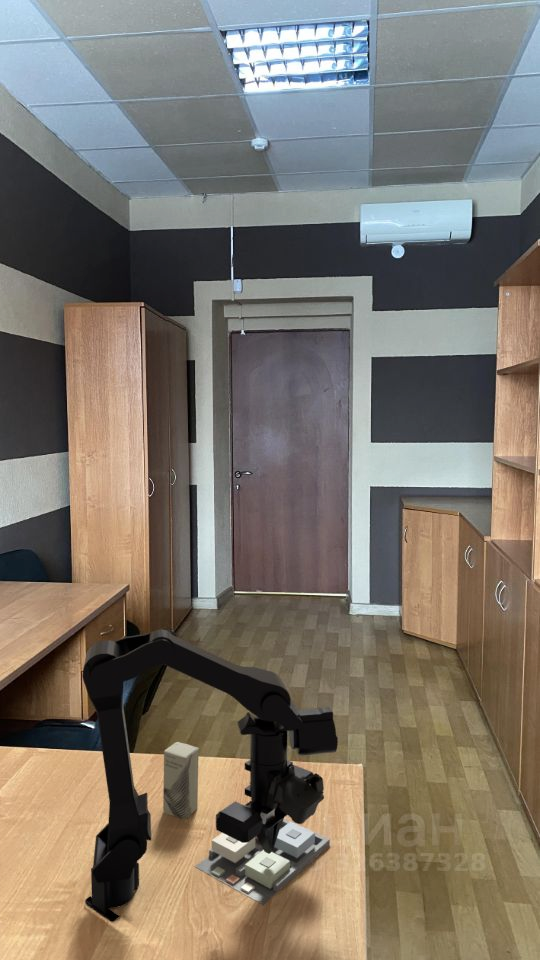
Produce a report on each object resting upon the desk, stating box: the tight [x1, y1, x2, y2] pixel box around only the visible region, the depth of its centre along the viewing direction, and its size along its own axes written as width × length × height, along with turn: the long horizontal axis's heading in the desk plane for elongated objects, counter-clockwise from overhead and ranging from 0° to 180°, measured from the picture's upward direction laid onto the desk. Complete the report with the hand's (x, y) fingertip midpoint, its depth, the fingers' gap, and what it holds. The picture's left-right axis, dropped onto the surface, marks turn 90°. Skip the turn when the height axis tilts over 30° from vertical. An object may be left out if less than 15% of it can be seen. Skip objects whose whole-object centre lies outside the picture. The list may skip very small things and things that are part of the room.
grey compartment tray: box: [194, 818, 331, 906], centre depth 113 cm, size 18×14×2 cm
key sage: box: [245, 850, 290, 889], centre depth 108 cm, size 5×5×2 cm
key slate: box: [274, 821, 316, 858], centre depth 114 cm, size 5×5×2 cm
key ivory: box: [211, 832, 255, 863], centre depth 112 cm, size 5×5×2 cm
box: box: [162, 741, 200, 820], centre depth 126 cm, size 5×4×13 cm
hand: (268, 851), depth 108 cm, fingers closed
